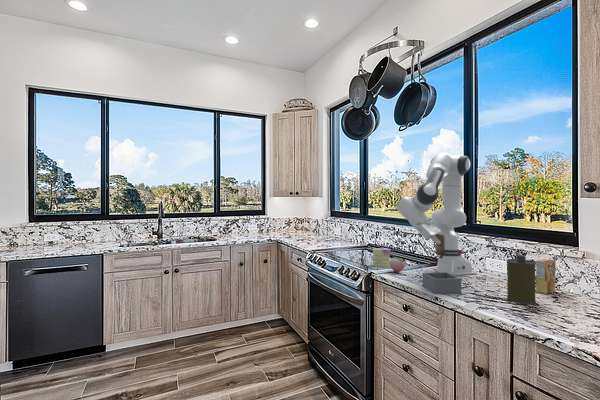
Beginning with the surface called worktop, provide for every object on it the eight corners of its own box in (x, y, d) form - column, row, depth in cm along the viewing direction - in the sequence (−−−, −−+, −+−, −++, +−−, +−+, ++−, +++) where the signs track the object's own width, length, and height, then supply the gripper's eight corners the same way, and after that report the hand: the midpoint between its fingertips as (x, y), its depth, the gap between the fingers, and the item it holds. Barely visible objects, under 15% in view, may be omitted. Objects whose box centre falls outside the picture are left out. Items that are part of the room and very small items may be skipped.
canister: (537, 305, 129) (537, 258, 129) (507, 301, 134) (507, 256, 134) (534, 298, 138) (534, 254, 138) (506, 295, 143) (506, 252, 143)
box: (388, 265, 211) (388, 248, 211) (389, 267, 205) (389, 249, 205) (372, 265, 212) (372, 248, 212) (374, 266, 206) (373, 249, 206)
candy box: (545, 289, 152) (545, 258, 152) (556, 291, 148) (555, 259, 148) (535, 291, 148) (535, 260, 148) (546, 294, 144) (545, 261, 144)
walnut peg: (442, 253, 155) (442, 234, 155) (446, 255, 151) (446, 234, 151) (434, 253, 155) (434, 234, 155) (438, 255, 151) (438, 235, 151)
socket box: (447, 285, 160) (447, 272, 160) (461, 293, 147) (461, 278, 147) (422, 286, 159) (422, 272, 159) (434, 293, 146) (434, 279, 146)
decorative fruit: (386, 272, 190) (386, 256, 190) (393, 270, 196) (393, 254, 196) (400, 274, 183) (400, 258, 183) (407, 272, 189) (407, 256, 189)
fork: (425, 269, 200) (425, 266, 200) (404, 263, 218) (404, 260, 218) (429, 269, 201) (429, 266, 201) (408, 262, 219) (408, 260, 219)
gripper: (419, 219, 149) (441, 241, 143) (431, 217, 165) (450, 236, 159) (410, 228, 152) (431, 249, 146) (422, 225, 168) (441, 244, 162)
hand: (441, 242), depth 153 cm, fingers closed on walnut peg, 4 cm apart
